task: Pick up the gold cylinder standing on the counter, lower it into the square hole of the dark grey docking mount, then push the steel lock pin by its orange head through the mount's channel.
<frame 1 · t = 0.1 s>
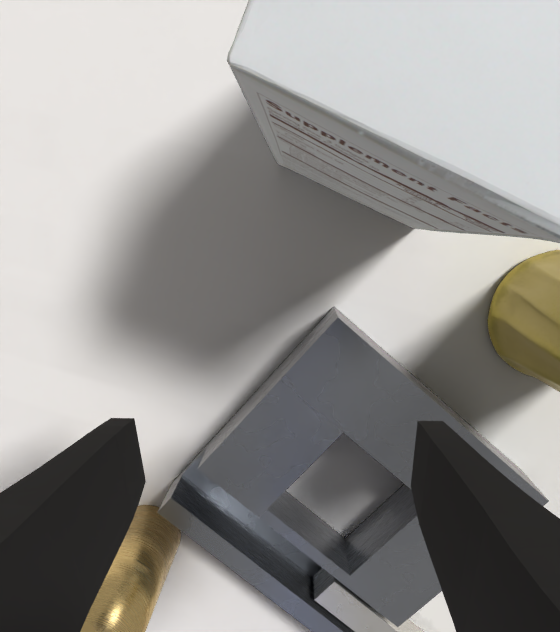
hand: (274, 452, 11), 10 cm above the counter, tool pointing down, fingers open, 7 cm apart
vase: (549, 313, 20), on the counter
supplement box: (380, 124, 19), on the counter
socket: (342, 476, 22), on the counter
gold cylinder: (149, 533, 24), on the counter
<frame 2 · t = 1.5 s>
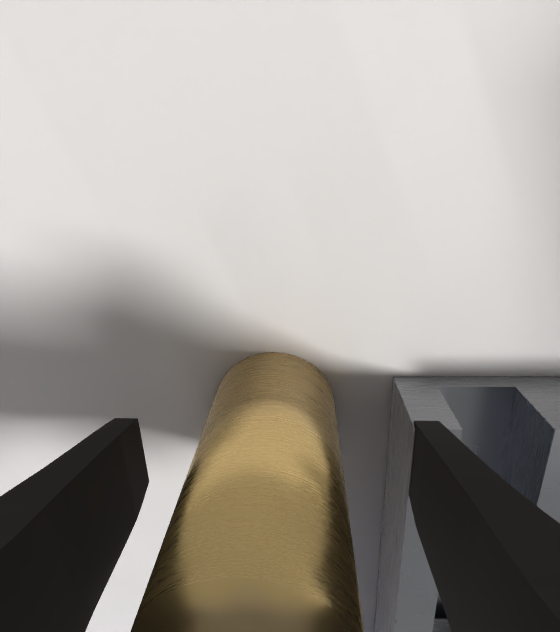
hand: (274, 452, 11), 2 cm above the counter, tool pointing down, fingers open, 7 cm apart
gold cylinder: (274, 405, 13), on the counter
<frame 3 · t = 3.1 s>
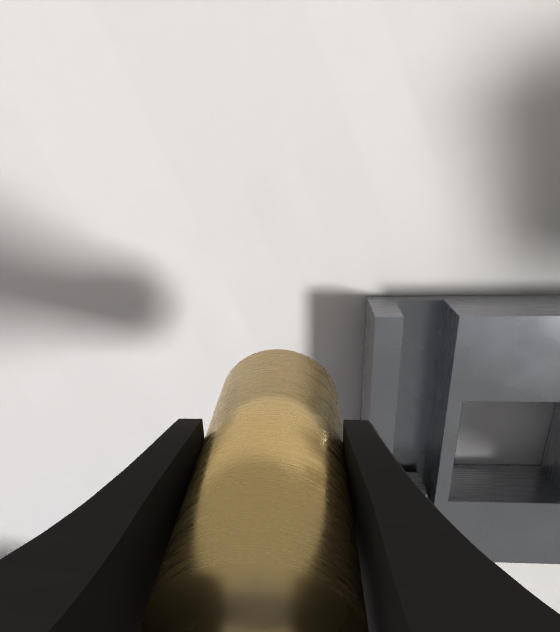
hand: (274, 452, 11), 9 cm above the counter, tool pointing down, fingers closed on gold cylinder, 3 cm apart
socket: (494, 420, 21), on the counter
lock pin: (401, 602, 22), point 3 cm above the counter, slide at 0.0 cm
gold cylinder: (279, 401, 13), point 7 cm above the counter, touching gripper
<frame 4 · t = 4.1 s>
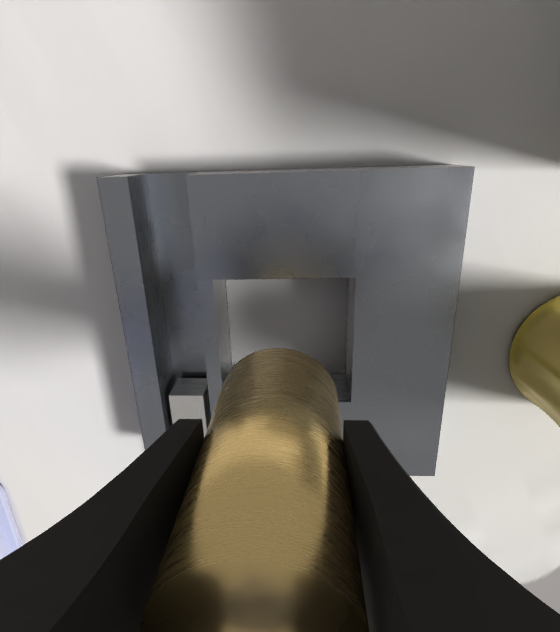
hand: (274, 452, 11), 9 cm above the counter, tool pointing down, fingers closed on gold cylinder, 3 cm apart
socket: (287, 320, 19), on the counter
lock pin: (199, 522, 20), point 3 cm above the counter, slide at 0.0 cm
gold cylinder: (279, 400, 13), point 7 cm above the counter, touching gripper
when the fingers open (3 cm above the counter, at t = 5.5 s): gold cylinder stays where it is, resting in socket.
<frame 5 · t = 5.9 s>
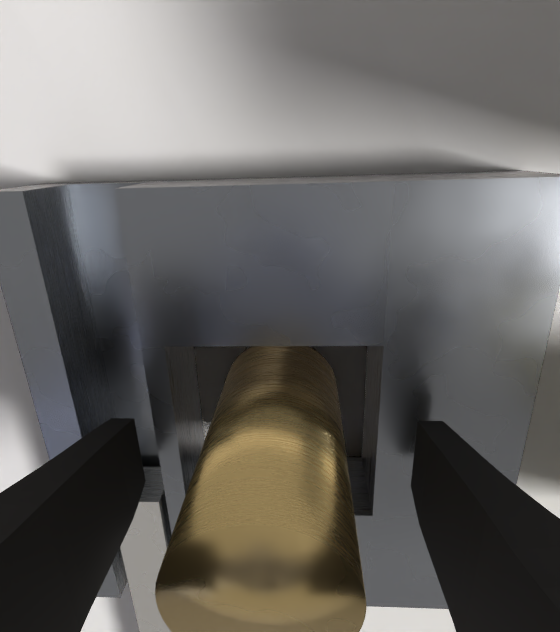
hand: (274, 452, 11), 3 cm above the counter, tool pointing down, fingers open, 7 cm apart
socket: (280, 388, 14), on the counter
gold cylinder: (281, 389, 14), resting in socket
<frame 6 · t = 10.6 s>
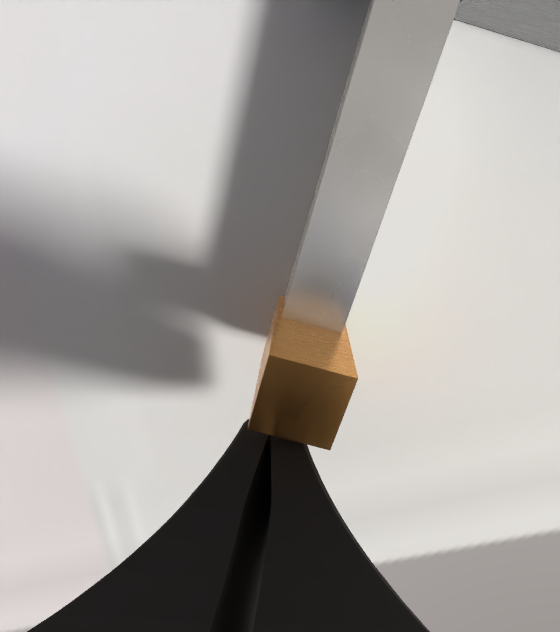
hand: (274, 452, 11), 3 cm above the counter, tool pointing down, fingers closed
lock pin: (389, 93, 8), point 3 cm above the counter, slide at 0.7 cm, touching gripper
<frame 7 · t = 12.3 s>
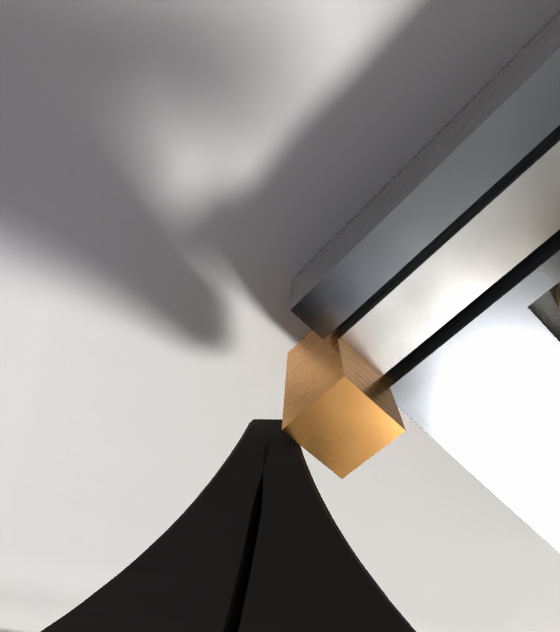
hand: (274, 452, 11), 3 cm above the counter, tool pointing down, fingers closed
lock pin: (549, 203, 9), point 3 cm above the counter, slide at 8.3 cm, touching gripper
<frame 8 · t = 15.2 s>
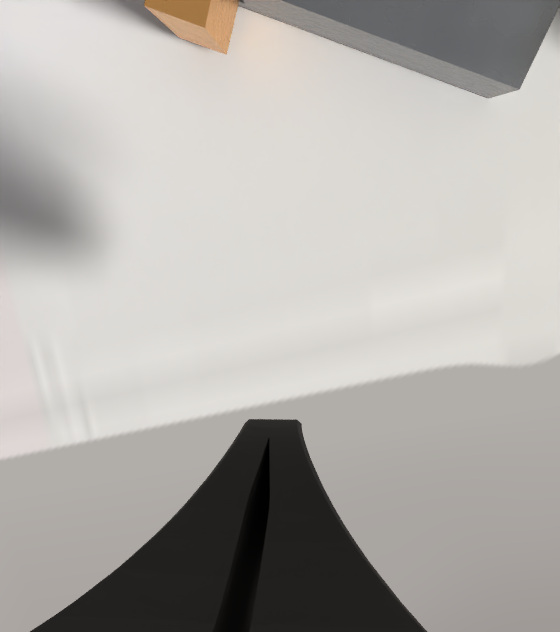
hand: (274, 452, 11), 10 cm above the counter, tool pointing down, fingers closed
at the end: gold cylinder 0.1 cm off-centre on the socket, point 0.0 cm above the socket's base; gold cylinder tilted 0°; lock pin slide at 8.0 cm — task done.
